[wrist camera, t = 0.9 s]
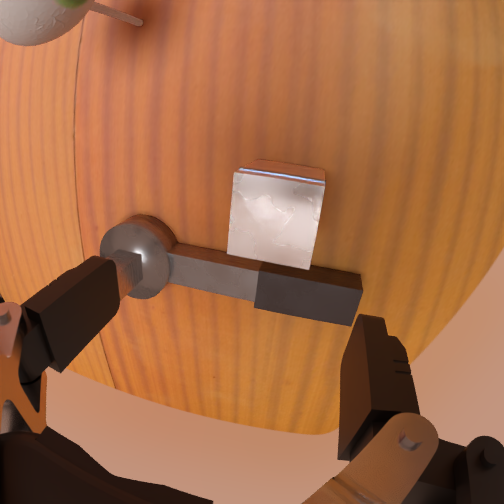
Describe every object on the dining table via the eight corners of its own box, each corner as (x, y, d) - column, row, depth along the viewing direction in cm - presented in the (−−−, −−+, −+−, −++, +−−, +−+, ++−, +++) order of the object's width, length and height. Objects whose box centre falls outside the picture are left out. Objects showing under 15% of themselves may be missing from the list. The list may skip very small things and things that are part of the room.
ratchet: (365, 254, 24) (377, 302, 17) (344, 324, 27) (345, 380, 20) (115, 209, 27) (66, 236, 21) (120, 274, 30) (79, 310, 24)
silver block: (325, 169, 22) (326, 186, 16) (314, 233, 24) (309, 270, 18) (257, 158, 23) (233, 171, 17) (250, 221, 25) (226, 254, 19)
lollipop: (166, 60, 21) (14, 32, 7) (100, 60, 21) (-41, 54, 8) (185, -13, 18) (63, -89, 4) (118, -7, 18) (-8, -46, 5)
